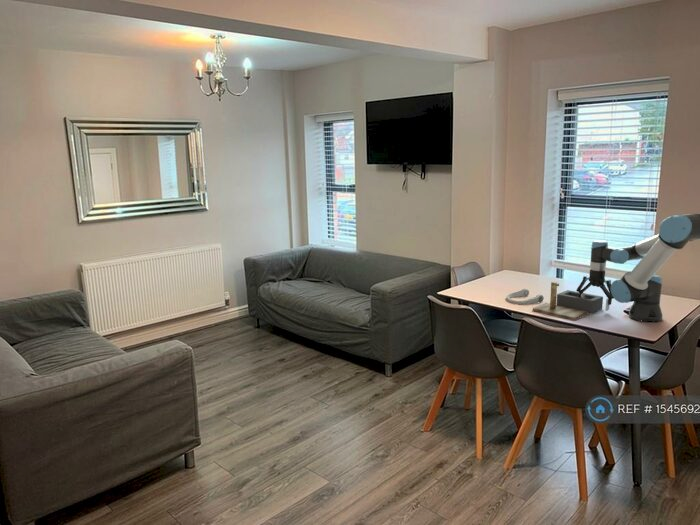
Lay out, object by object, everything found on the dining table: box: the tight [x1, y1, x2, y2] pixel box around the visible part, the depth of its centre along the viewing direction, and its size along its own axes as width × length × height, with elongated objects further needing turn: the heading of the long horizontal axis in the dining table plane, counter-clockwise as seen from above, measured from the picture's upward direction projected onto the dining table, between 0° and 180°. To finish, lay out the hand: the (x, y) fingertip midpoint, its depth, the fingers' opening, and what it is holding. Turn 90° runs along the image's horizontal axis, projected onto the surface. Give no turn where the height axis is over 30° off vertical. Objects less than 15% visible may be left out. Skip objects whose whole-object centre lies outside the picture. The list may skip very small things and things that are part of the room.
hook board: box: [531, 281, 589, 321], centre depth 279 cm, size 24×14×16 cm, turn 40°
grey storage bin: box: [556, 289, 604, 314], centre depth 288 cm, size 20×12×7 cm, turn 40°
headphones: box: [506, 288, 544, 305], centre depth 306 cm, size 18×17×5 cm
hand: (594, 307), depth 282 cm, fingers open, 13 cm apart
